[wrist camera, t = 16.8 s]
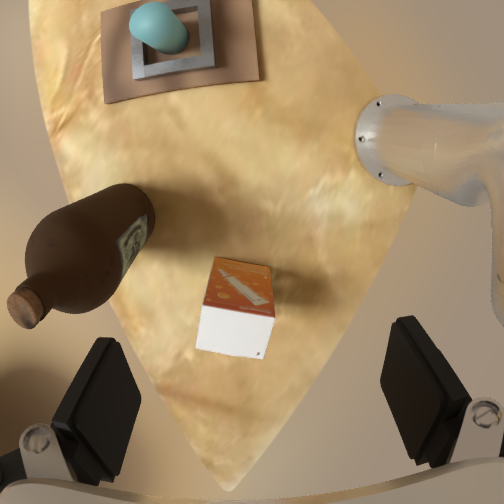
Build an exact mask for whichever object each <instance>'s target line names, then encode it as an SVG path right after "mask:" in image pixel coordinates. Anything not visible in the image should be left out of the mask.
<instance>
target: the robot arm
mask: <svg viewBox="0 0 504 504" xmlns="http://www.w3.org/2000/svg"><path fill="white" fill-rule="evenodd" d="M377 103H378V104H379V106H377ZM359 137H361V141H359ZM354 144H355V150H356V153H357V156H358V159H359V160H360V162H361V164H362V166H363V167H364V168H365V169H366V171H367V172H368V173H369V174H370V175H372V176H373V177H374V178H375V179H377V180H379V181H381V182H383V183H386V184H388V185H394V186H403V185H408V184H411V183H413V184H416V185H418V186H420V187H422V188H424V189H426V190H429V191H431V192H433V193H435V194H437V195H439V196H441V197H443V198H446V199H448V200H450V201H452V202H454V203H456V204H459V205H462V206H467V207H475V206H481V205H485V204H487V203H489V202H490V207H491V225H492V272H491V273H492V274H491V302H492V307H493V311H494V313H495V316H496V318H497V319H498V321H499V322H500V323H501V325H502V326H503V327H504V102H496V103H488V104H487V103H486V104H422V105H420V104H419V103H418V102H416V101H415V100H413V99H411V98H409V97H407V96H403V95H398V94H394V95H393V94H390V95H384V96H381V97H378V98H376V99H374V100H372V101H371V102H369V103H368V104H367V105H366V106H365V107H364V108H363V110H362V111H361V113H360V115H359V117H358V119H357V122H356V125H355V130H354ZM379 173H380V176H379ZM380 383H381V388H382V390H383V393H384V395H385V397H386V400H387V402H388V405H389V407H390V409H391V412H392V415H393V417H394V419H395V422H396V424H397V427H398V429H399V432H400V435H401V437H402V440H403V443H404V445H405V448H406V450H407V453H408V456H409V457H410V459H415V463H416V465H417V466H418V465H421V464H424V463H427V462H429V465H430V467H431V469H429V470H426V471H423V472H419V473H416V474H412V475H409V476H406V477H402V478H398V479H394V480H390V481H386V482H382V483H378V484H373V485H369V486H364V487H360V488H355V489H349V490H344V491H338V492H332V493H325V494H319V495H311V496H302V497H292V498H281V499H267V500H236V501H235V500H230V501H229V500H196V499H181V498H170V497H160V496H152V495H144V494H137V493H130V492H125V491H119V490H113V489H107V488H102V487H99V486H98V485H99V482H100V480H101V481H106V482H111V483H113V482H114V478H115V476H118V475H119V473H120V470H121V467H122V463H123V460H124V457H125V453H126V449H127V446H128V443H129V439H130V436H131V433H132V430H133V426H134V423H135V420H136V417H137V414H138V411H139V407H140V404H141V394H140V391H139V389H138V387H137V385H136V382H135V380H134V378H133V375H132V373H131V370H130V368H129V365H128V363H127V360H126V358H125V355H124V353H123V350H122V347H121V345H120V343H119V342H116V340H115V339H114V338H107V337H105V338H104V337H103V338H102V337H100V338H97V339H96V341H95V343H94V344H93V346H92V348H91V349H90V351H89V353H88V355H87V356H86V358H85V360H84V362H83V363H82V365H81V367H80V369H79V370H78V372H77V374H76V376H75V377H74V379H73V381H72V383H71V385H70V387H69V388H68V390H67V392H66V394H65V396H64V398H63V400H62V401H61V403H60V405H59V407H58V409H57V411H56V413H55V415H54V417H53V419H52V424H51V426H49V425H46V424H35V425H32V426H31V427H29V428H27V429H26V430H25V431H24V432H23V434H22V435H21V437H20V441H19V445H20V448H19V449H16V450H14V451H12V452H10V453H8V454H5V455H3V456H1V457H0V504H504V408H503V407H502V405H501V404H500V403H499V402H497V401H496V400H494V399H492V398H488V397H480V398H476V399H474V400H472V399H471V397H470V395H469V394H468V392H467V391H466V389H465V387H464V386H463V384H462V383H461V381H460V380H459V378H458V377H457V375H456V374H455V372H454V370H453V369H452V368H451V366H450V364H449V363H448V362H447V360H446V359H445V357H444V356H443V354H442V353H441V351H440V350H439V349H437V347H436V346H435V344H434V343H433V341H432V340H431V339H430V337H429V336H428V334H427V333H426V331H425V330H424V329H423V327H422V326H421V325H420V323H419V322H418V320H417V319H416V318H415V317H414V316H413V315H412V316H405V317H399V318H397V320H396V322H394V323H393V324H392V326H391V332H390V336H389V341H388V347H387V351H386V356H385V361H384V365H383V369H382V373H381V378H380Z"/></svg>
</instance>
